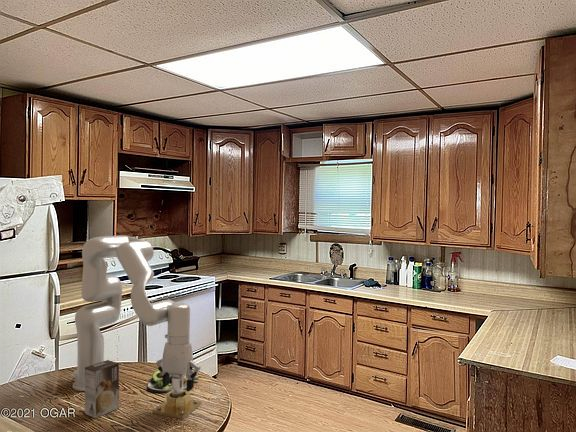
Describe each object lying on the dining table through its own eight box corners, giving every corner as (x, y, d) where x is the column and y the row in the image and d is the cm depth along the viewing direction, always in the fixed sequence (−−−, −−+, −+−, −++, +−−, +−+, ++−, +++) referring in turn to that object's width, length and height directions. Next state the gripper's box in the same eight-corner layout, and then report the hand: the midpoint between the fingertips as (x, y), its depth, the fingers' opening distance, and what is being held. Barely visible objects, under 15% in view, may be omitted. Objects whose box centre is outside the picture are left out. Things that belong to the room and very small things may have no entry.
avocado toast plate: (200, 375, 184) (200, 364, 184) (196, 393, 166) (197, 381, 166) (153, 376, 182) (153, 365, 182) (144, 394, 164) (144, 382, 164)
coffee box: (107, 403, 155) (108, 359, 155) (119, 408, 152) (119, 362, 152) (83, 413, 147) (84, 366, 147) (95, 419, 144) (96, 370, 144)
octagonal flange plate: (152, 413, 149) (152, 398, 149) (172, 398, 160) (172, 385, 160) (182, 419, 145) (183, 404, 145) (201, 404, 156) (201, 390, 156)
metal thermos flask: (168, 407, 151) (169, 372, 151) (175, 402, 155) (175, 368, 155) (178, 409, 150) (179, 374, 150) (185, 404, 154) (185, 370, 154)
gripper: (151, 339, 151) (150, 388, 152) (194, 345, 146) (193, 396, 146) (163, 333, 159) (163, 380, 159) (205, 339, 153) (205, 387, 153)
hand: (177, 387), depth 152 cm, fingers open, 9 cm apart
